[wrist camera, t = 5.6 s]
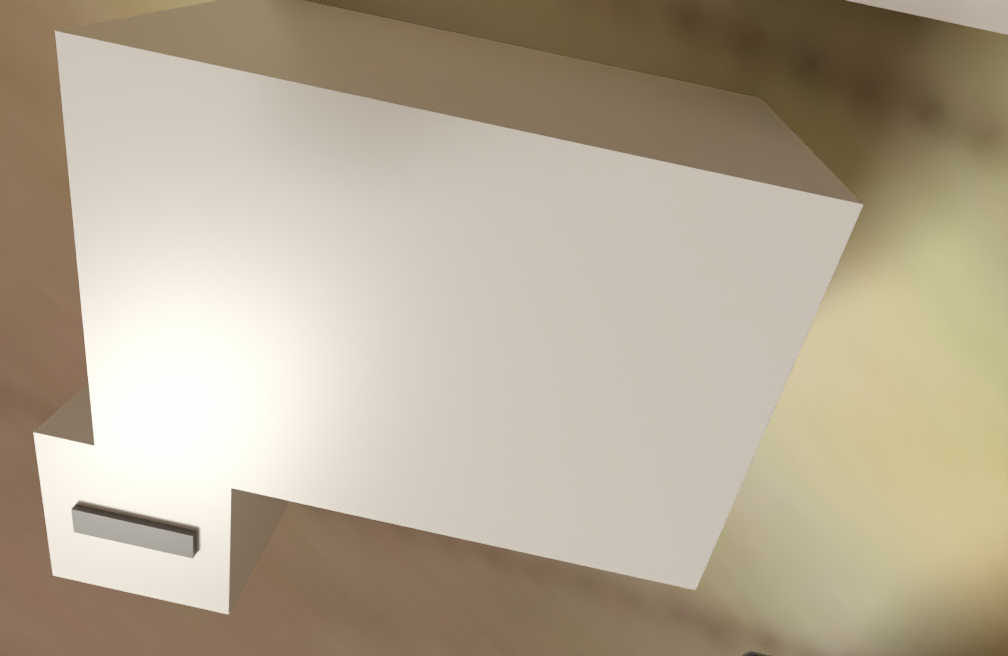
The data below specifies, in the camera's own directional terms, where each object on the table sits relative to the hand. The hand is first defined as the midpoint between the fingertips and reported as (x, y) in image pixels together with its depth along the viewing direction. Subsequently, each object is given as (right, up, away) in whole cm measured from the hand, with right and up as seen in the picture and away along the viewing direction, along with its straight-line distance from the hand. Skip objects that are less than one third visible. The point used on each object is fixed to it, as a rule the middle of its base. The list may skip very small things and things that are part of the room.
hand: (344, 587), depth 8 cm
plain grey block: (+1, +6, +11) cm, 13 cm away
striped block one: (-7, 0, +16) cm, 17 cm away
